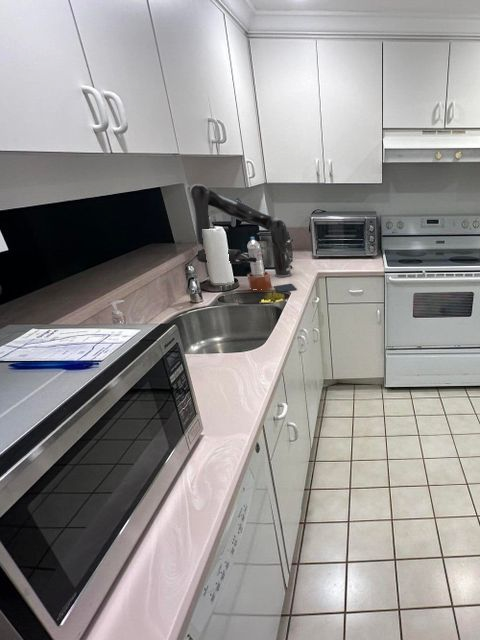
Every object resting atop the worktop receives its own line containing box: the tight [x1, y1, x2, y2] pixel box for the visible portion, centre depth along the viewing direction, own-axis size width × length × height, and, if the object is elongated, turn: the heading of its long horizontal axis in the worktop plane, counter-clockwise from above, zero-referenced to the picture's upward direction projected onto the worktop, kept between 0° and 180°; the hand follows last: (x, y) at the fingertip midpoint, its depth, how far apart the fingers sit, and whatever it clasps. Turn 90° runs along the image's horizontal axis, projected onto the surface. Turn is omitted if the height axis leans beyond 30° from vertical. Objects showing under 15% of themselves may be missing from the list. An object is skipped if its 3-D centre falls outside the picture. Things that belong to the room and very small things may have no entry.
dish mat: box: [273, 283, 298, 294], centre depth 213 cm, size 11×10×1 cm
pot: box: [246, 271, 273, 293], centre depth 212 cm, size 11×11×8 cm
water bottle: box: [246, 236, 266, 277], centre depth 206 cm, size 7×7×25 cm
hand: (259, 258), depth 205 cm, fingers closed on water bottle, 6 cm apart
